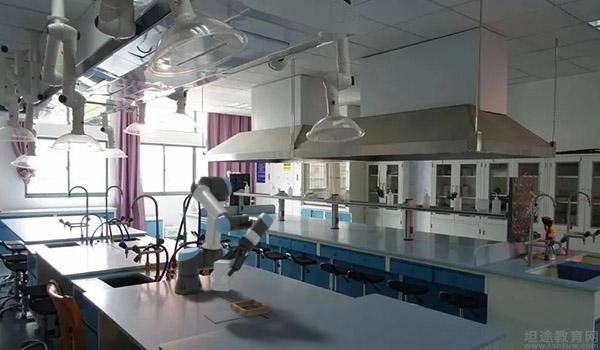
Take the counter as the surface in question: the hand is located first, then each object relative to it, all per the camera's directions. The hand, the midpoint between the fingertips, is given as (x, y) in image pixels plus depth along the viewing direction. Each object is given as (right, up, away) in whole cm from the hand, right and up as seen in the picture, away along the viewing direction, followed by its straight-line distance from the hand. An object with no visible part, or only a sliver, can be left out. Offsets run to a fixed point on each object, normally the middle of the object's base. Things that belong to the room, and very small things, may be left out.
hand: (217, 278), depth 185 cm
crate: (+13, -18, +11) cm, 25 cm away
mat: (+2, -18, +1) cm, 18 cm away
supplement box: (+2, -5, +2) cm, 6 cm away
